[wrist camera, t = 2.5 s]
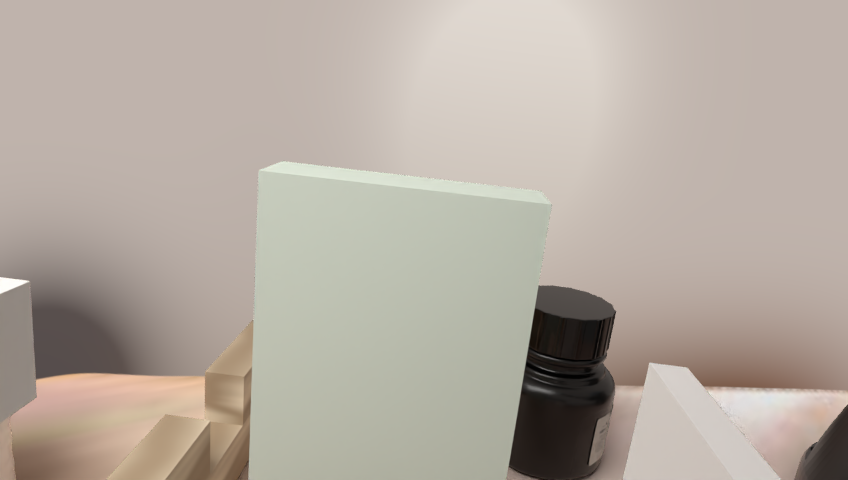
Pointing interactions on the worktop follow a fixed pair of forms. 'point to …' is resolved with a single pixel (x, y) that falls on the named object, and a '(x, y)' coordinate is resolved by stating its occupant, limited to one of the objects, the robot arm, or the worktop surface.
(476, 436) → the pale green panel
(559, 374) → the ink bottle
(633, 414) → the worktop surface
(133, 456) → the slotted rail
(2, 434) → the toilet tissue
